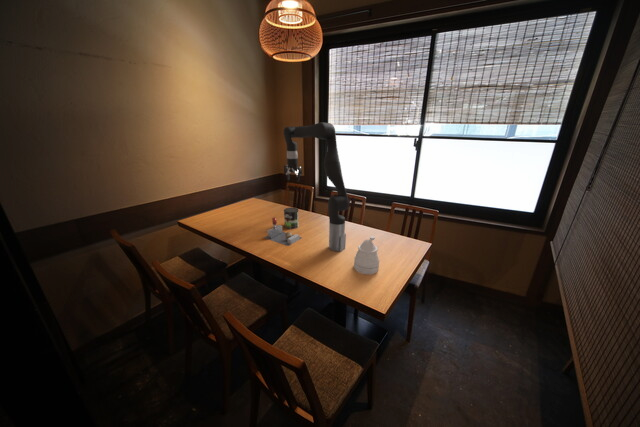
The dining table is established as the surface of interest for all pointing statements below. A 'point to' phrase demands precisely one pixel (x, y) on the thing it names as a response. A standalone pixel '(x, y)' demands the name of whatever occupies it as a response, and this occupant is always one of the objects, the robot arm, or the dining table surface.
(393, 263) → the dining table surface
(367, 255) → the honey pot
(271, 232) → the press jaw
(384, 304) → the dining table surface
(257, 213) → the dining table surface
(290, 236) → the tan ball
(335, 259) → the dining table surface
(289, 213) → the coffee can
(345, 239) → the robot arm
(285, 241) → the nutcracker bench
